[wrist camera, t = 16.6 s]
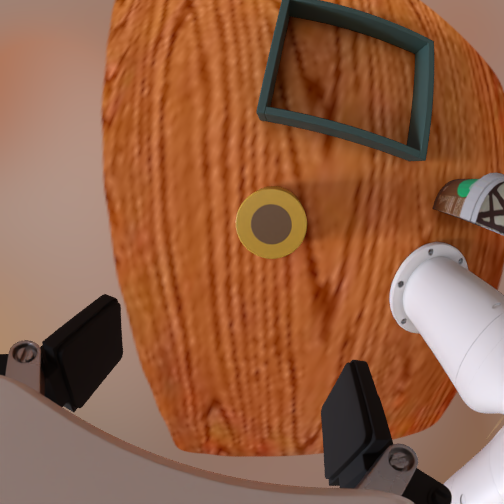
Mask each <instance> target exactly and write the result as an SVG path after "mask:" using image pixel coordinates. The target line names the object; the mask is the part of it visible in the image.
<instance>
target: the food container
mask: <svg viewBox="0 0 504 504" xmlns="http://www.w3.org/2000/svg"><path fill="white" fill-rule="evenodd" d="M433 209H435V210H438V211H441V212H444V213H447V214H450V215H452V216H455V217H458V218H460V219H463V220H466V221H468V222H471V223H473V224H476V225H478V226H481V227H484V228H486V229H489V230H491V231H494V232H496V233H499V234H501V235H503V236H504V175H503V174H501V173H490V174H487V175H485V176H483V177H482V178H481V179H456V180H452V181H450V182H448V183H447V184H446V185H445V186H444V187H443V188H442V189H441V190H440V192H439V193H438V195H437V197H436V199H435V202H434V206H433Z"/></svg>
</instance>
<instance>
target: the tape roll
mask: <svg viewBox="0 0 504 504" xmlns="http://www.w3.org/2000/svg"><path fill="white" fill-rule="evenodd" d="M236 230H237V234H238V236H239V239H240V241H241V242H242V244H243V245H244V246H245V247H246V248H247V249H248V250H249V251H250V252H252V253H253V254H255V255H257V256H260V257H263V258H268V259H275V258H281V257H284V256H287V255H289V254H291V253H292V252H293V251H295V250H296V249H297V248H298V247H299V246H300V244H301V243H302V241H303V239H304V237H305V234H306V230H307V218H306V214H305V211H304V209H303V207H302V205H301V203H300V201H299V200H298V198H297V197H296V196H295V195H294V194H293V193H292V192H290V191H289V190H287V189H285V188H282V187H277V186H269V187H264V188H262V189H259V190H258V191H256V192H254V193H253V194H251V195H250V196H249V197H247V198H246V199H245V200H244V202H243V203H242V204H241V206H240V208H239V210H238V212H237V216H236Z"/></svg>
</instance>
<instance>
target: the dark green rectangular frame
mask: <svg viewBox="0 0 504 504" xmlns="http://www.w3.org/2000/svg"><path fill="white" fill-rule="evenodd" d="M290 17H296V18H302V19H307V20H312V21H317V22H322V23H326V24H330V25H334V26H338V27H342V28H345V29H349V30H352V31H356V32H359V33H362V34H365V35H368V36H371V37H374V38H377V39H380V40H382V41H385V42H388V43H390V44H393V45H395V46H398V47H400V48H403V49H405V50H407V51H409V52H412V53H414V54H415V76H414V90H413V102H412V111H411V119H410V127H409V134H408V141H407V145H404V144H402V143H399V142H397V141H394V140H391V139H388V138H386V137H383V136H380V135H377V134H374V133H371V132H368V131H365V130H362V129H359V128H355V127H352V126H349V125H345V124H342V123H338V122H335V121H331V120H327V119H323V118H319V117H315V116H311V115H307V114H302V113H298V112H293V111H288V110H283V109H278V108H272V107H270V106H271V101H272V96H273V92H274V87H275V82H276V77H277V73H278V68H279V63H280V59H281V54H282V50H283V45H284V40H285V36H286V31H287V27H288V22H289V18H290ZM433 89H434V41H432V40H430V39H428V38H426V37H424V36H422V35H420V34H418V33H416V32H414V31H412V30H410V29H407V28H405V27H403V26H400V25H398V24H395V23H393V22H390V21H388V20H385V19H382V18H380V17H377V16H374V15H371V14H368V13H365V12H362V11H359V10H356V9H352V8H349V7H345V6H341V5H337V4H333V3H329V2H325V1H320V0H282V3H281V7H280V11H279V15H278V19H277V23H276V27H275V31H274V36H273V40H272V44H271V48H270V53H269V57H268V62H267V66H266V70H265V75H264V79H263V84H262V88H261V93H260V98H259V102H258V107H257V114H258V116H259V119H260V120H262V121H268V122H273V123H278V124H283V125H288V126H293V127H297V128H302V129H306V130H311V131H315V132H319V133H323V134H327V135H330V136H334V137H338V138H341V139H345V140H348V141H352V142H355V143H358V144H362V145H365V146H368V147H371V148H374V149H377V150H380V151H383V152H386V153H389V154H391V155H394V156H397V157H400V158H402V159H405V160H408V161H425V160H426V154H427V148H428V141H429V134H430V125H431V116H432V104H433Z"/></svg>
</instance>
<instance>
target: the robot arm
mask: <svg viewBox="0 0 504 504" xmlns="http://www.w3.org/2000/svg"><path fill="white" fill-rule="evenodd" d="M390 308H391V311H392V314H393V316H394V318H395V320H396V321H397V323H398V324H399V325H400V326H401V327H402V328H404V329H405V330H407V331H409V332H412V333H420V334H421V336H422V337H423V339H424V340H425V341H426V343H427V344H428V346H429V347H430V349H431V350H432V352H433V353H434V355H435V356H436V358H437V359H438V361H439V362H440V364H441V365H442V367H443V369H444V370H445V372H446V373H447V375H448V376H449V378H450V380H451V381H452V383H453V385H454V386H455V388H456V389H457V391H458V392H459V394H460V396H461V397H462V399H463V400H464V402H465V403H466V404H467V405H468V406H469V407H470V408H471V409H473V410H475V411H477V412H481V413H502V414H504V295H503V294H502V293H500V292H499V291H497V290H496V289H495V288H493V287H492V286H491V285H489V284H488V283H486V282H485V281H483V280H482V279H481V278H479V277H478V276H476V275H475V274H473V273H472V272H470V271H469V270H468V266H467V263H466V260H465V258H464V256H463V255H462V253H461V252H460V251H459V250H458V249H456V248H455V247H453V246H451V245H449V244H447V243H444V242H434V243H429V244H426V245H424V246H421V247H420V248H418V249H417V250H415V251H414V252H413V253H411V254H410V255H409V256H408V257H407V258H406V259H405V261H404V262H403V263H402V264H401V266H400V267H399V269H398V271H397V273H396V275H395V277H394V280H393V282H392V286H391V290H390ZM42 343H43V345H42V346H41V347H39V345H38V344H36V343H35V342H32V341H28V340H25V341H20V342H17V343H16V344H14V345H13V346H12V347H11V348H10V351H9V354H0V504H504V426H503V427H502V428H501V429H500V431H499V432H498V433H497V434H496V435H495V436H494V438H493V439H492V440H491V441H490V442H489V443H488V444H487V445H486V446H485V447H484V448H483V449H482V450H481V451H480V452H478V453H477V454H476V455H475V456H474V457H473V458H472V459H471V460H470V461H469V462H467V463H466V464H465V465H464V466H463V467H462V468H461V469H460V470H458V471H457V472H456V473H455V474H454V475H453V476H451V477H450V478H449V479H448V480H447V481H446V482H445V483H444V484H441V483H440V482H438V481H436V480H435V479H433V478H432V477H430V476H428V475H427V474H425V473H424V472H422V471H420V470H419V469H417V465H418V458H417V455H416V453H415V452H414V451H413V449H411V448H410V447H409V446H406V445H404V444H393V442H392V438H391V434H390V431H389V427H388V424H387V420H386V417H385V414H384V410H383V407H382V404H381V401H380V398H379V396H378V394H377V391H376V388H375V385H374V382H373V379H372V376H371V373H370V370H369V367H368V364H367V362H365V361H358V360H352V361H351V362H350V363H347V364H346V365H345V367H344V369H343V371H342V372H341V374H340V376H339V378H338V380H337V382H336V384H335V385H334V387H333V389H332V391H331V393H330V394H329V396H328V398H327V399H326V401H325V403H324V405H323V406H322V410H321V419H322V432H323V448H324V466H325V477H326V479H329V485H330V486H334V485H335V486H336V485H337V486H340V488H315V487H299V486H288V485H279V484H271V483H264V482H257V481H251V480H246V479H241V478H236V477H231V476H226V475H222V474H218V473H214V472H210V471H205V470H202V469H198V468H195V467H192V466H188V465H185V464H182V463H179V462H176V461H173V460H170V459H167V458H164V457H162V456H159V455H156V454H153V453H151V452H148V451H146V450H143V449H141V448H139V447H136V446H134V445H132V444H129V443H127V442H125V441H122V440H121V439H119V438H116V437H114V436H112V435H110V434H108V433H106V432H104V431H102V430H100V429H98V428H96V427H95V426H93V425H91V424H89V423H87V422H86V421H84V420H82V419H81V418H79V417H77V416H75V415H74V414H72V413H70V412H69V411H67V410H65V409H64V408H62V407H63V406H64V407H66V408H68V409H69V410H71V411H73V412H75V411H76V409H77V408H81V407H82V406H83V405H84V404H85V403H86V402H87V400H88V399H89V398H90V396H91V395H92V394H93V393H94V391H95V390H96V389H97V388H98V387H99V385H100V384H101V383H102V381H103V380H104V379H105V378H106V377H107V375H108V374H109V373H110V372H111V371H112V369H113V368H114V367H115V366H116V364H117V363H118V362H119V361H120V360H121V358H122V355H123V348H122V331H121V307H120V304H119V303H118V301H117V299H116V298H114V297H111V296H109V295H106V294H104V295H102V296H101V297H99V298H98V299H97V300H95V301H94V302H93V303H91V304H90V305H89V306H87V307H86V308H85V309H83V310H82V311H81V312H79V313H78V314H77V315H76V316H74V317H73V318H72V319H70V320H69V321H68V322H67V323H65V324H64V325H63V326H62V327H60V328H59V329H58V330H57V331H55V332H54V333H53V334H52V335H50V336H49V337H48V338H47V339H45V341H43V342H42Z"/></svg>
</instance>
